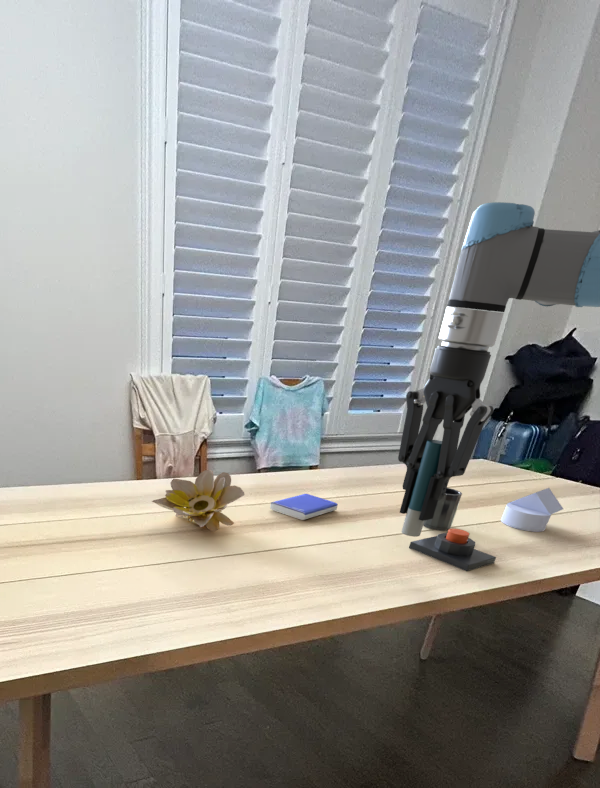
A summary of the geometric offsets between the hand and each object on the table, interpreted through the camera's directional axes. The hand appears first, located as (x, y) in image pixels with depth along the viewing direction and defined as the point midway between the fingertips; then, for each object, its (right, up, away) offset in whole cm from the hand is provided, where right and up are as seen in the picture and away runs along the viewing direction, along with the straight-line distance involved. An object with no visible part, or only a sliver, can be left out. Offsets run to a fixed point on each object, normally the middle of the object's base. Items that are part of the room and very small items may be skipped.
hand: (415, 515), depth 101 cm
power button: (+11, -1, +11) cm, 15 cm away
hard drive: (-14, +9, +27) cm, 31 cm away
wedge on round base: (+36, +10, +36) cm, 52 cm away
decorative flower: (-36, +3, +13) cm, 38 cm away
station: (+10, -3, +12) cm, 16 cm away
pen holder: (+13, +6, +27) cm, 30 cm away
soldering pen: (0, -2, +2) cm, 3 cm away
